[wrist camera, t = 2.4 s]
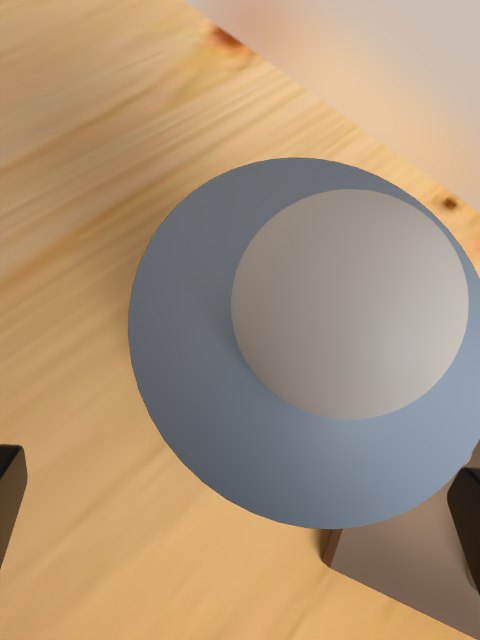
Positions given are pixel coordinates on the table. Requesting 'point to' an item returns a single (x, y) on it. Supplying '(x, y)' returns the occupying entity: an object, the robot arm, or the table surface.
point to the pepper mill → (309, 343)
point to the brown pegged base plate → (414, 560)
